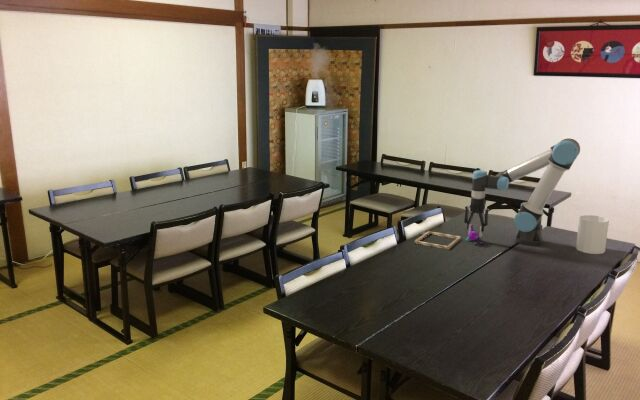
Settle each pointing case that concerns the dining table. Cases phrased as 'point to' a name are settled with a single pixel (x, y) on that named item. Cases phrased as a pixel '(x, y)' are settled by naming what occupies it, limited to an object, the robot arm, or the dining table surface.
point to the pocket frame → (424, 234)
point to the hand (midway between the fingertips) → (474, 235)
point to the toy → (473, 235)
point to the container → (592, 234)
